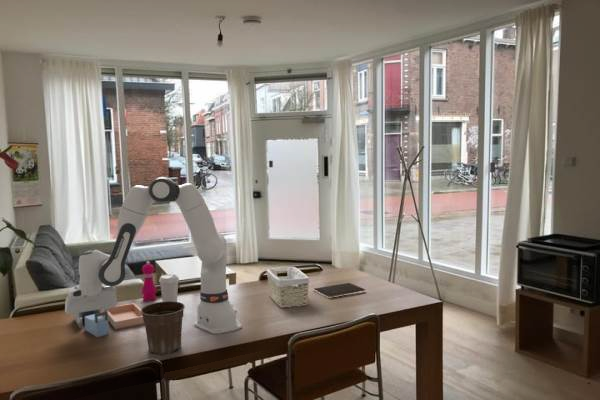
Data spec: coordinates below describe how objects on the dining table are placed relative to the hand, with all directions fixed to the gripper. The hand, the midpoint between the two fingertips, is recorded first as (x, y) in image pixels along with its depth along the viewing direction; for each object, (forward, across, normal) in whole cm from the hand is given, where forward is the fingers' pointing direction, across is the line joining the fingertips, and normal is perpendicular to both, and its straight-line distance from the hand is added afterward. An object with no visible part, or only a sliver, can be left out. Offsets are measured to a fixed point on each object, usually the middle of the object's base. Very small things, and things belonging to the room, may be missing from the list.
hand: (92, 320), depth 204 cm
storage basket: (+4, -90, +12) cm, 91 cm away
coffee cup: (+5, -38, -14) cm, 41 cm away
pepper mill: (+5, -33, -31) cm, 46 cm away
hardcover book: (+4, -122, +15) cm, 122 cm away
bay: (+5, 0, -13) cm, 14 cm away
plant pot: (+4, -20, +35) cm, 40 cm away
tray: (+5, -15, -7) cm, 18 cm away
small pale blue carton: (+5, -1, +2) cm, 5 cm away
